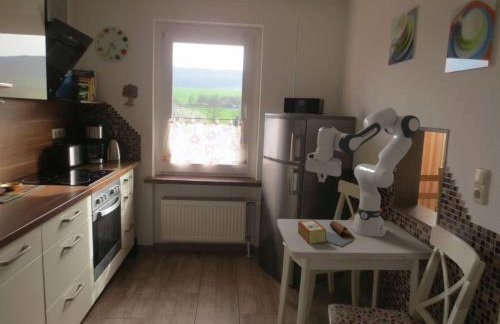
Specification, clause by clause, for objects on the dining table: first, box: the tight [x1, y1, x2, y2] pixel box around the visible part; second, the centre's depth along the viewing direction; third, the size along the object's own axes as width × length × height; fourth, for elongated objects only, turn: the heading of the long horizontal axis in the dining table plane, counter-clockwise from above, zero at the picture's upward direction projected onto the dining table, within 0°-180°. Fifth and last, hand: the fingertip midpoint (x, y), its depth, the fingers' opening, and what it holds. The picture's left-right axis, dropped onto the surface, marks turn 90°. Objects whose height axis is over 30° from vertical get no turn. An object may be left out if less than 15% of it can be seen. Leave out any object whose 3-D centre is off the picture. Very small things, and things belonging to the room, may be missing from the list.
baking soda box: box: [297, 219, 327, 245], centre depth 177 cm, size 10×6×16 cm
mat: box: [325, 231, 354, 248], centre depth 178 cm, size 13×16×1 cm
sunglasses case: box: [329, 220, 355, 239], centre depth 188 cm, size 18×7×7 cm, turn 6°
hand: (321, 181), depth 180 cm, fingers closed
